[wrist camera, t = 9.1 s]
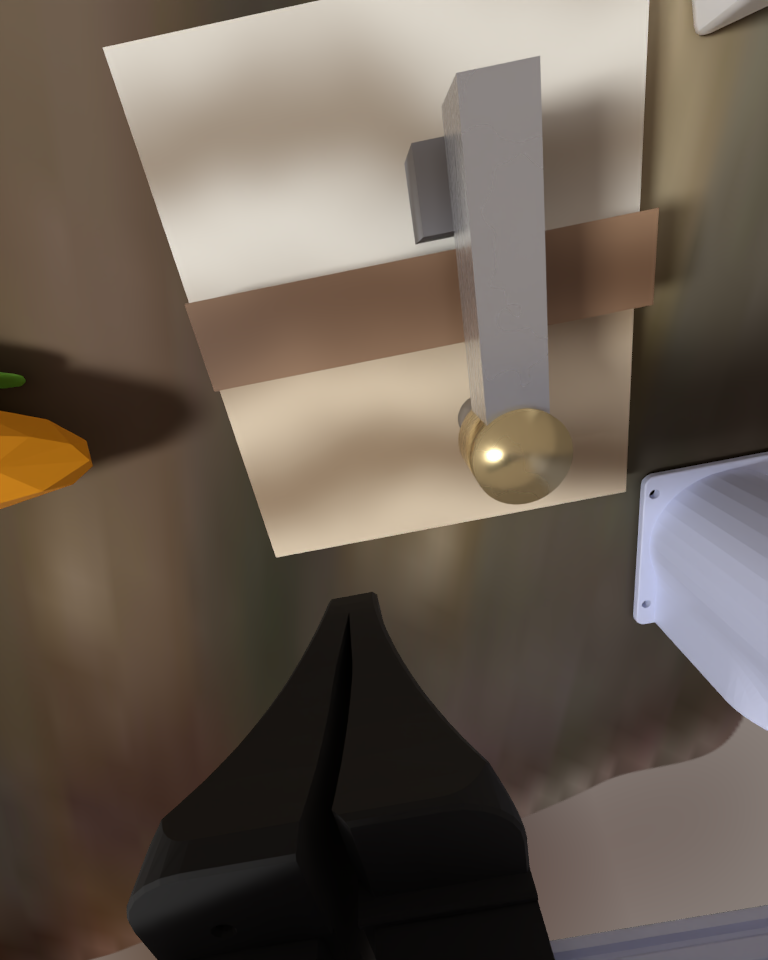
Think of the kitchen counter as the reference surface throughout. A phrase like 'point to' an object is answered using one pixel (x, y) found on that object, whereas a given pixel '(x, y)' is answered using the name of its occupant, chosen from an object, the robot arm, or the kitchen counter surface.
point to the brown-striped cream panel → (388, 242)
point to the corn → (36, 454)
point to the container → (722, 13)
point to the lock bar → (503, 280)
